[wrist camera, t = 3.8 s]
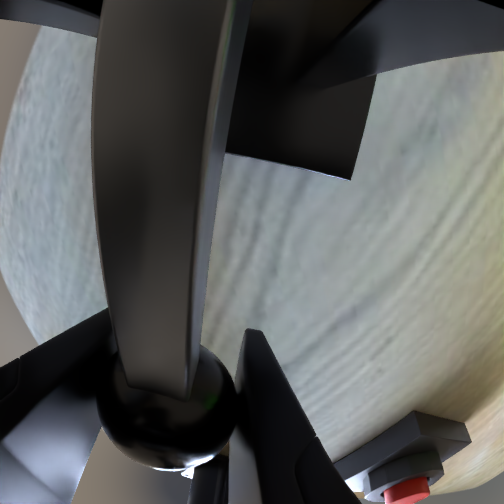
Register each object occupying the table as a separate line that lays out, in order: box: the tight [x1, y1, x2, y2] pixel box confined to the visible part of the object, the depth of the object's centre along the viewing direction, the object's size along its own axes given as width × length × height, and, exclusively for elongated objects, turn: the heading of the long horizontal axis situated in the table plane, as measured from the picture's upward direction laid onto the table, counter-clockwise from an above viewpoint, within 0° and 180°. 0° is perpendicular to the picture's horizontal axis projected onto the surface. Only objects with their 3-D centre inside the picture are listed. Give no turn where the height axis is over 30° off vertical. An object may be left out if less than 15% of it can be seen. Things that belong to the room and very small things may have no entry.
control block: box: [334, 411, 472, 502], centre depth 18 cm, size 10×8×4 cm
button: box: [384, 477, 430, 504], centre depth 16 cm, size 4×4×2 cm
